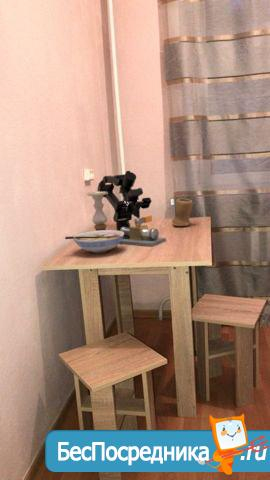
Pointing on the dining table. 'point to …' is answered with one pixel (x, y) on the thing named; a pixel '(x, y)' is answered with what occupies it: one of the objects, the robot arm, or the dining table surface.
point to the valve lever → (143, 220)
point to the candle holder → (98, 210)
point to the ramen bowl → (98, 240)
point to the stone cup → (182, 212)
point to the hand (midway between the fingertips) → (138, 217)
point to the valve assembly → (141, 236)
